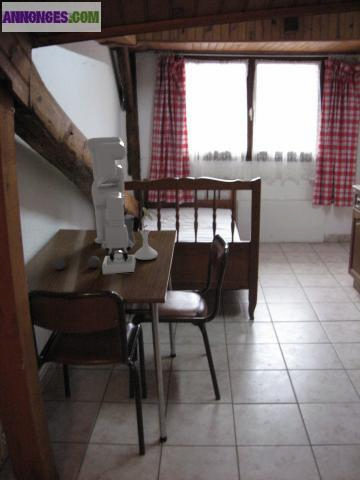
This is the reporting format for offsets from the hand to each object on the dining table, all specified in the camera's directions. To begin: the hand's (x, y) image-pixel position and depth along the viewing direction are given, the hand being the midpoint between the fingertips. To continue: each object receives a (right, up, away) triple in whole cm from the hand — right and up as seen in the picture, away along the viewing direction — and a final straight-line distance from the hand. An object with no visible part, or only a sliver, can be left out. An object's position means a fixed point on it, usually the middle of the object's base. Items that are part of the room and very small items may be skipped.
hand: (119, 260), depth 219 cm
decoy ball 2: (-12, -1, +3) cm, 12 cm away
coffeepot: (+1, +7, +38) cm, 38 cm away
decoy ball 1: (-28, -2, +2) cm, 28 cm away
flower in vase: (+12, +1, +15) cm, 19 cm away
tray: (0, -4, +1) cm, 4 cm away
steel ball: (0, +2, -1) cm, 2 cm away
